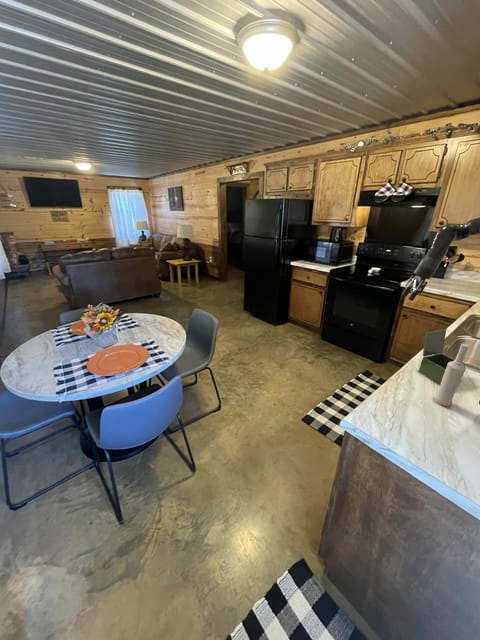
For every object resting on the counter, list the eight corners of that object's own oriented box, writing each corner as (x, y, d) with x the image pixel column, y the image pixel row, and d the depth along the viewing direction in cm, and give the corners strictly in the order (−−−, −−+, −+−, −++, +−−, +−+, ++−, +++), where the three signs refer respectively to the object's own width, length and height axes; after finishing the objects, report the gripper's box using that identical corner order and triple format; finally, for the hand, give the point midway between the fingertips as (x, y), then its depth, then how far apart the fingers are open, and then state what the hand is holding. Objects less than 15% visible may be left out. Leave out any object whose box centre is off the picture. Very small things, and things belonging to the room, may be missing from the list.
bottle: (432, 401, 100) (454, 344, 90) (436, 395, 103) (457, 340, 93) (448, 408, 97) (473, 350, 87) (452, 402, 100) (476, 345, 90)
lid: (446, 329, 115) (444, 329, 115) (427, 333, 112) (425, 332, 112) (442, 352, 118) (441, 352, 118) (424, 356, 114) (422, 356, 115)
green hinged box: (459, 380, 112) (465, 365, 109) (440, 385, 109) (445, 370, 106) (436, 367, 121) (441, 353, 118) (418, 371, 118) (423, 357, 115)
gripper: (442, 272, 117) (420, 304, 123) (428, 268, 130) (409, 297, 136) (425, 266, 118) (404, 298, 124) (413, 262, 131) (395, 291, 137)
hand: (407, 297), depth 130 cm, fingers open, 8 cm apart
